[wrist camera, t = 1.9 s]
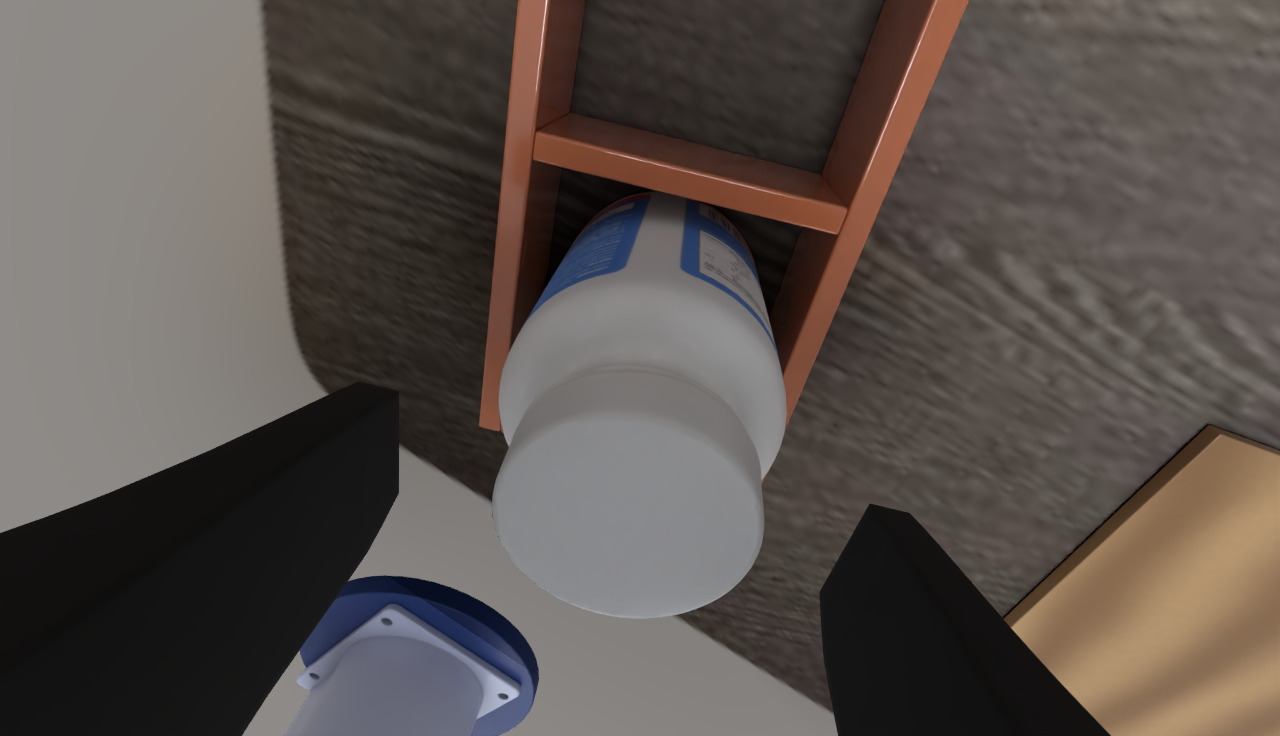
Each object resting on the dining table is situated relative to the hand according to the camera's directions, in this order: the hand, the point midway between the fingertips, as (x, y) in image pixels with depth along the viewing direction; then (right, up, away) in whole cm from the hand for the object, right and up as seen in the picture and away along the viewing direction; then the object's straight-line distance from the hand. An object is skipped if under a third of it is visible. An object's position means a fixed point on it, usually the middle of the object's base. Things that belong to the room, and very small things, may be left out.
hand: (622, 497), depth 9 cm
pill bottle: (+1, +5, +8) cm, 9 cm away
